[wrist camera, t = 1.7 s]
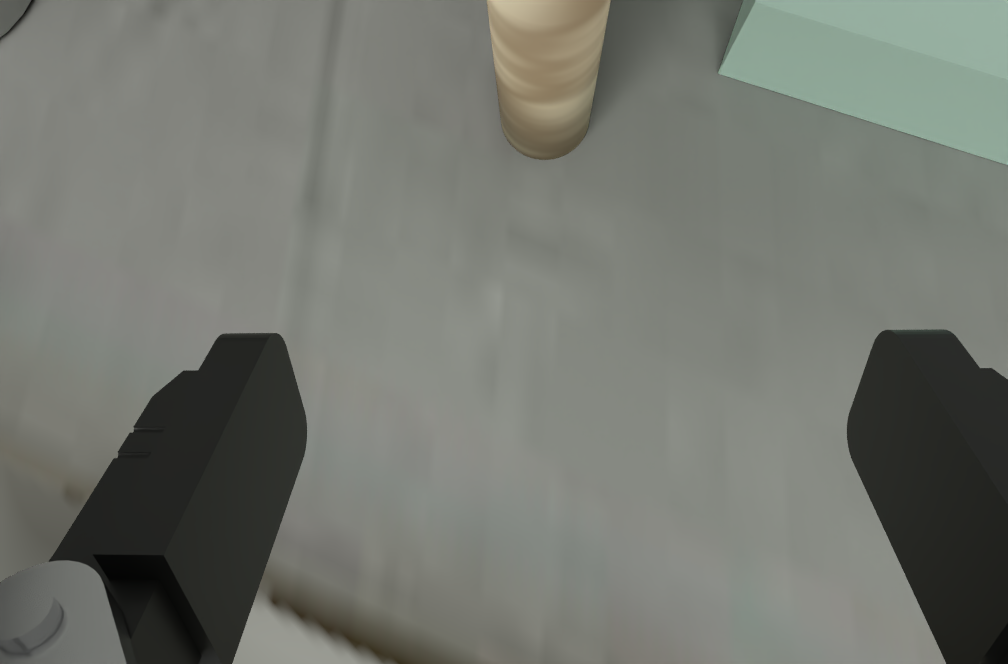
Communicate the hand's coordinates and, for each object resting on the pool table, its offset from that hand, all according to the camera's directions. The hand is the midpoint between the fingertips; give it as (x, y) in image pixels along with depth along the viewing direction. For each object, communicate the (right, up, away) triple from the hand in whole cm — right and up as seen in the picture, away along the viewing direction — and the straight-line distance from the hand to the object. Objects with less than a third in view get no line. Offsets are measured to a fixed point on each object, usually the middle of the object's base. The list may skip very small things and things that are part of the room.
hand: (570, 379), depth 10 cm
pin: (+1, +9, +19) cm, 21 cm away
